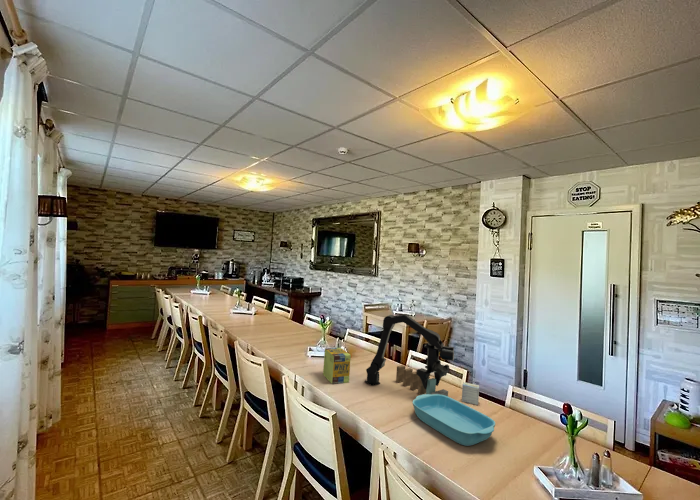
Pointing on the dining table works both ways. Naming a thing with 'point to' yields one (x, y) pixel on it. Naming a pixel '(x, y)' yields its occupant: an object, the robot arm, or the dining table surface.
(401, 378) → the domino
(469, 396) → the medicine box
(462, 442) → the casserole dish
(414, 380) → the domino
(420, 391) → the domino
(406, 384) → the domino
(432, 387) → the light blue flat block
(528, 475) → the dining table surface
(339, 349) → the protein box
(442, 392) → the end block
